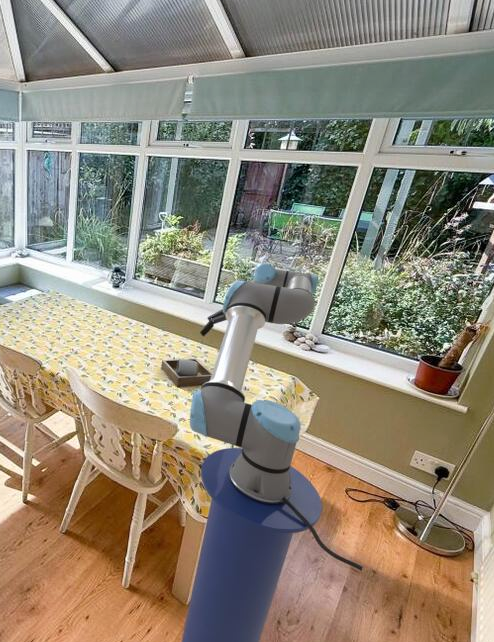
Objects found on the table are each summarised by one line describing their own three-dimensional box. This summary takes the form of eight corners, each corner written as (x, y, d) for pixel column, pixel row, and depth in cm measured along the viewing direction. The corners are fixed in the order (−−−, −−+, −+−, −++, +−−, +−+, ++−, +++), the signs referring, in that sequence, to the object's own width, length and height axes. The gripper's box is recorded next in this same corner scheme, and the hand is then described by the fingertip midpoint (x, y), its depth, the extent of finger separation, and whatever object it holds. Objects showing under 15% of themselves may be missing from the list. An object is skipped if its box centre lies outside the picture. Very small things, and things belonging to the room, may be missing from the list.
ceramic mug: (197, 381, 170) (199, 365, 167) (176, 379, 171) (179, 363, 168) (194, 369, 180) (196, 354, 177) (174, 367, 181) (177, 351, 178)
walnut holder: (213, 385, 169) (215, 375, 167) (176, 388, 166) (178, 377, 164) (194, 367, 184) (195, 358, 182) (160, 369, 181) (162, 360, 179)
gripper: (274, 319, 164) (237, 358, 164) (229, 300, 185) (197, 334, 185) (267, 308, 160) (229, 347, 160) (222, 290, 182) (189, 324, 182)
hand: (212, 340), depth 173 cm, fingers open, 13 cm apart
